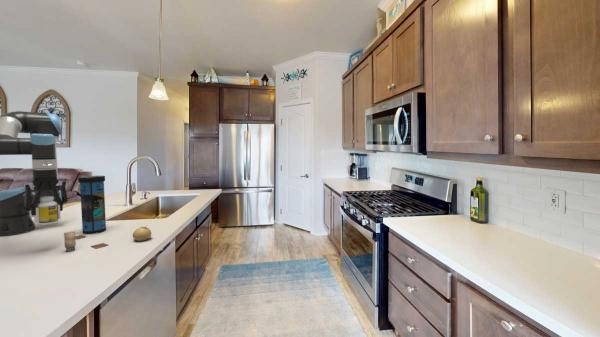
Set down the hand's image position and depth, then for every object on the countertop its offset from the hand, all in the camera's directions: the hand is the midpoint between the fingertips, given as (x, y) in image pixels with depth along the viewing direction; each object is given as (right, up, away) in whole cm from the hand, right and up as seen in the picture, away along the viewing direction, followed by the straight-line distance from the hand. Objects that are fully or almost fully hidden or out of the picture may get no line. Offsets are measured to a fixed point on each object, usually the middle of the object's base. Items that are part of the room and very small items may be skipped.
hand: (48, 220), depth 117 cm
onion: (+34, -13, +14) cm, 39 cm away
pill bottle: (0, -1, 0) cm, 1 cm away
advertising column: (+1, -11, +26) cm, 28 cm away
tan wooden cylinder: (+11, -13, -1) cm, 17 cm away
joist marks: (+10, -12, +10) cm, 19 cm away
